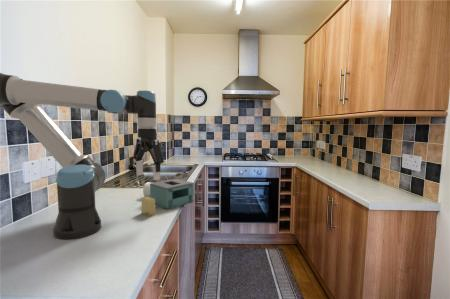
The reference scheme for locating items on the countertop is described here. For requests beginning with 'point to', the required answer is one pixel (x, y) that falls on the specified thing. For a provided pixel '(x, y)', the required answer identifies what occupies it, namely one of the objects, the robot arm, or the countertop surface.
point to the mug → (146, 189)
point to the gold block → (148, 206)
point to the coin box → (171, 193)
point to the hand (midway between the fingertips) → (147, 177)
